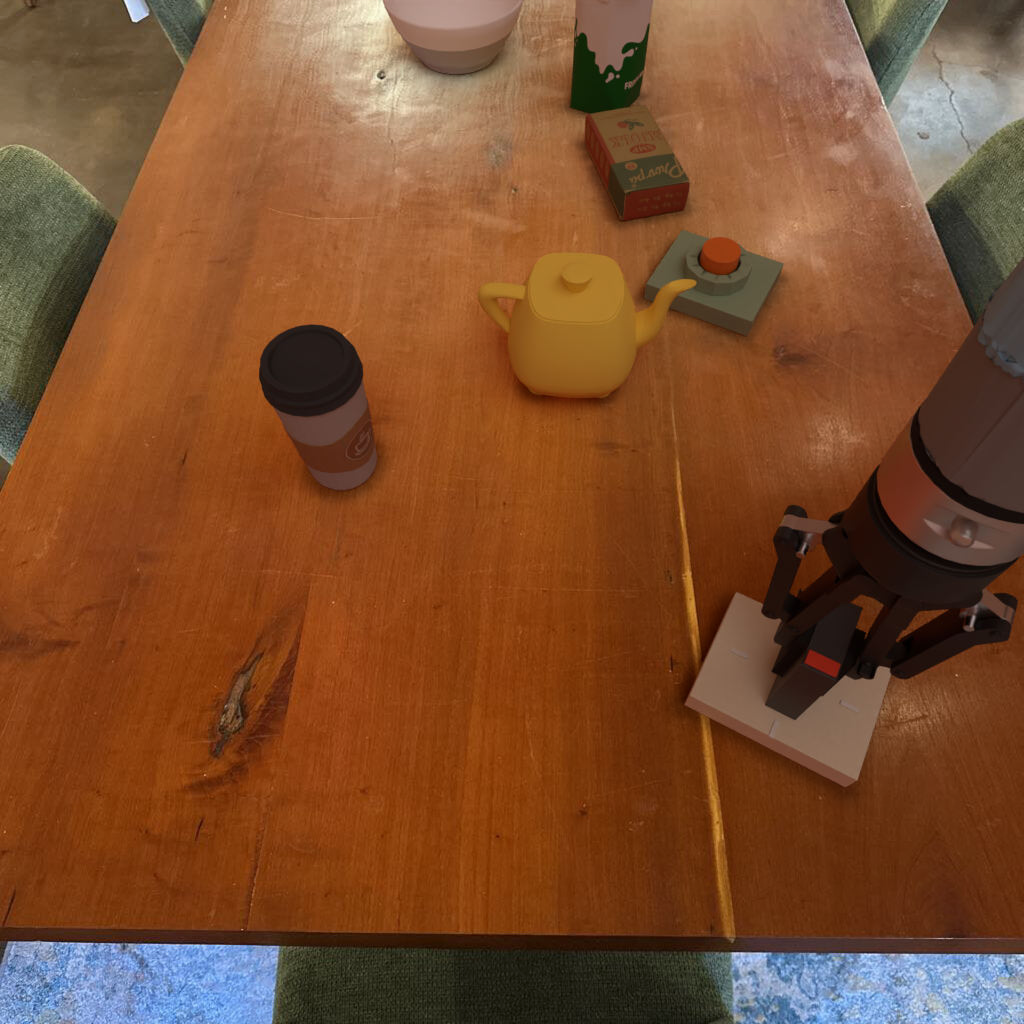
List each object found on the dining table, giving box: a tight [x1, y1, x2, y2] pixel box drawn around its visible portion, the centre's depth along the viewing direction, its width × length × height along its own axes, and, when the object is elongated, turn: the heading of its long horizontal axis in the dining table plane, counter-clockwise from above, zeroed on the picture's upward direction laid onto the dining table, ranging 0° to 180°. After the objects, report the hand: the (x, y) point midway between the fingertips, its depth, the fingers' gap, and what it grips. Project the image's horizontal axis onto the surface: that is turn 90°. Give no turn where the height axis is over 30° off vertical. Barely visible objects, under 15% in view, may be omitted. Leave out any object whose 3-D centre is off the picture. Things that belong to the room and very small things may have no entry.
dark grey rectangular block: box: [765, 602, 864, 720], centre depth 55 cm, size 6×2×9 cm, turn 150°
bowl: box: [382, 0, 524, 75], centre depth 107 cm, size 20×20×8 cm
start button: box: [700, 236, 741, 275], centre depth 81 cm, size 4×4×2 cm
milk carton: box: [569, 0, 654, 114], centre depth 95 cm, size 9×9×20 cm
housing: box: [643, 229, 785, 337], centre depth 83 cm, size 12×10×4 cm
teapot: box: [476, 252, 697, 399], centre depth 74 cm, size 13×20×12 cm
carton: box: [584, 104, 691, 222], centre depth 93 cm, size 8×16×4 cm, turn 14°
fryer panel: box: [683, 591, 892, 788], centre depth 60 cm, size 13×10×3 cm
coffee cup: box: [258, 323, 378, 491], centre depth 67 cm, size 8×8×15 cm
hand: (802, 668), depth 57 cm, fingers closed on dark grey rectangular block, 2 cm apart
